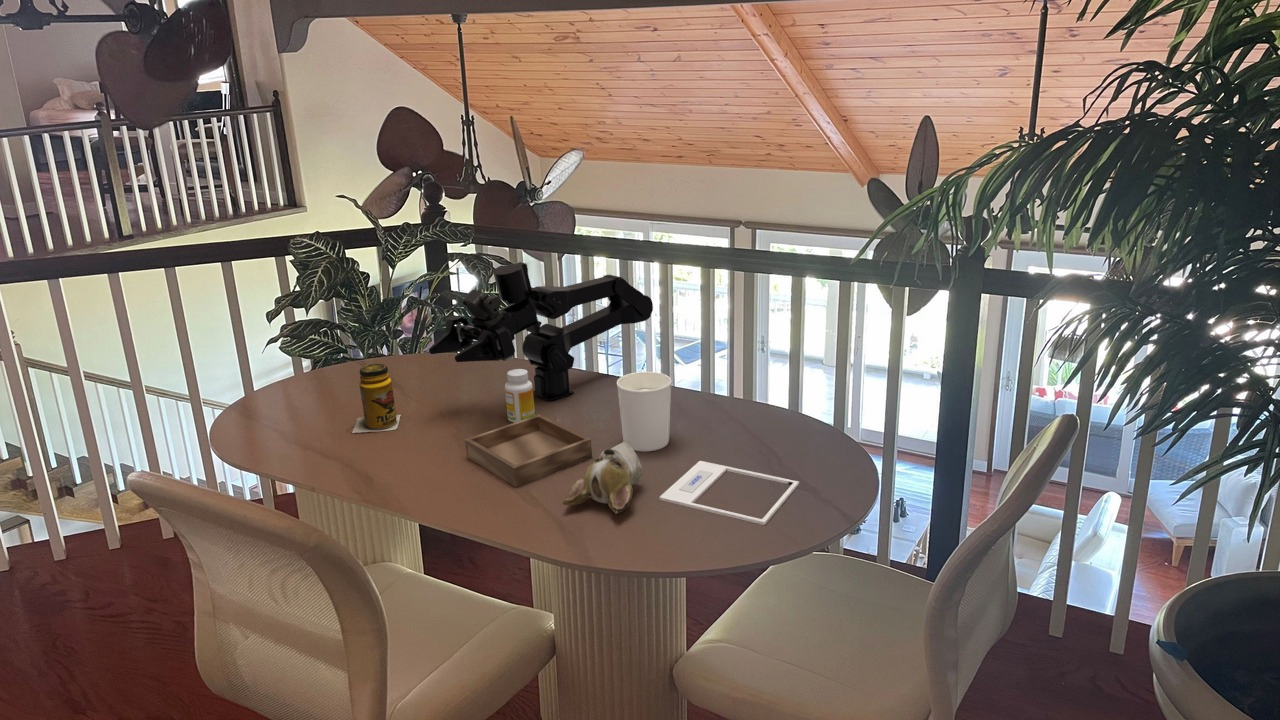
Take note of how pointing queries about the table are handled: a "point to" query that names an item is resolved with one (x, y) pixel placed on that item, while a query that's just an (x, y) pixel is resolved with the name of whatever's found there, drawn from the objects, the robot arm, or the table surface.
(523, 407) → the supplement bottle
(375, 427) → the condiment
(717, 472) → the photo frame
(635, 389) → the candle holder
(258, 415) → the table surface
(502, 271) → the robot arm
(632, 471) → the ceramic sculpture
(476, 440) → the box
